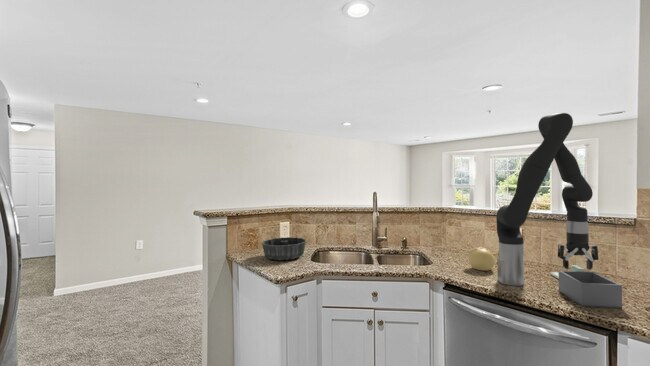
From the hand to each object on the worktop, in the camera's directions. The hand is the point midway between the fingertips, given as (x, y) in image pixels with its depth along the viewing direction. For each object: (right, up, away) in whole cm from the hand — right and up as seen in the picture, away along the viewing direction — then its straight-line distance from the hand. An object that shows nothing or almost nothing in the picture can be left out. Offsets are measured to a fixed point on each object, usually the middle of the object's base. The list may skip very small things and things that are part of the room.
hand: (577, 269), depth 139 cm
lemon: (-13, -6, +34) cm, 36 cm away
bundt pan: (-133, -8, +53) cm, 144 cm away
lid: (0, -6, 0) cm, 6 cm away
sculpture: (-31, -6, +21) cm, 38 cm away
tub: (-12, -6, -20) cm, 24 cm away
